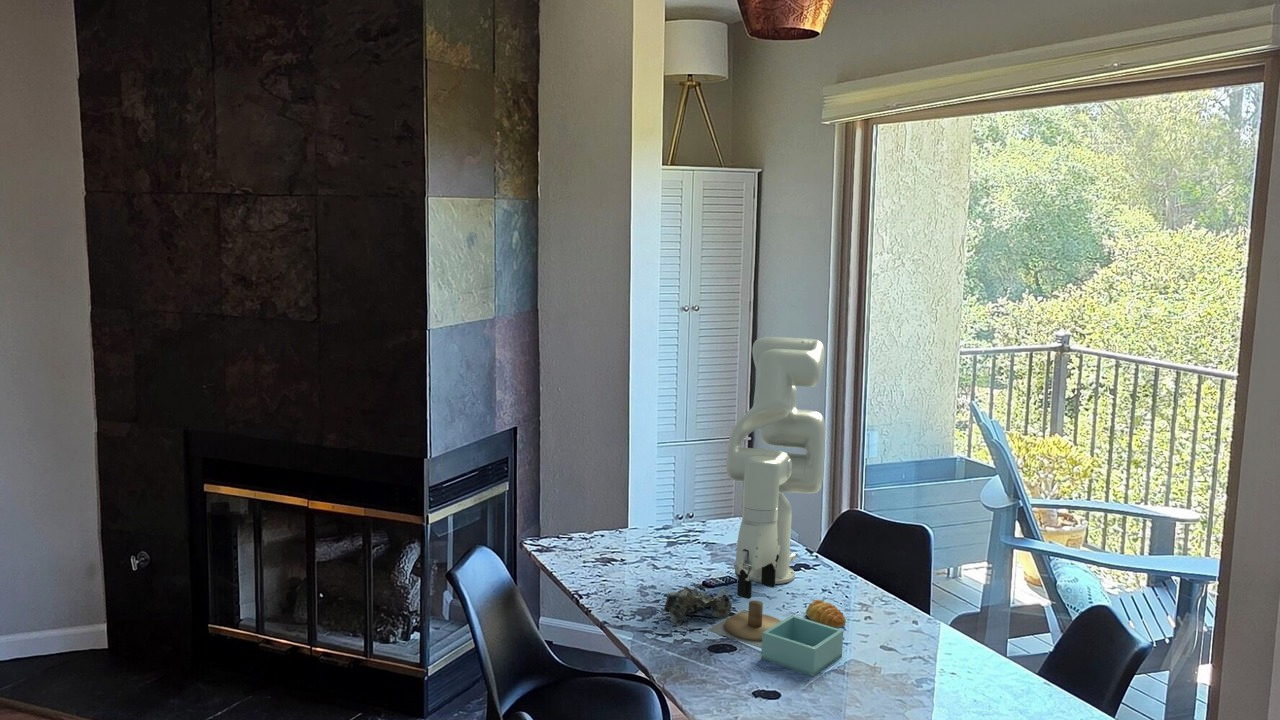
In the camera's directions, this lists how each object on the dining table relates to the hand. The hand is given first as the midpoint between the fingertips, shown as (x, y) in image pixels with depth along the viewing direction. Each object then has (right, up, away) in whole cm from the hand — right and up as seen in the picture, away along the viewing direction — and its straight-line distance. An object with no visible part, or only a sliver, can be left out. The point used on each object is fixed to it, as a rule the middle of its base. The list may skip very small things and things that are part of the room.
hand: (756, 591), depth 223 cm
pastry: (+17, -9, +9) cm, 21 cm away
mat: (0, -9, +2) cm, 9 cm away
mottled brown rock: (-12, -8, +8) cm, 17 cm away
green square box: (+8, -11, -12) cm, 18 cm away
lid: (0, -9, +2) cm, 9 cm away
